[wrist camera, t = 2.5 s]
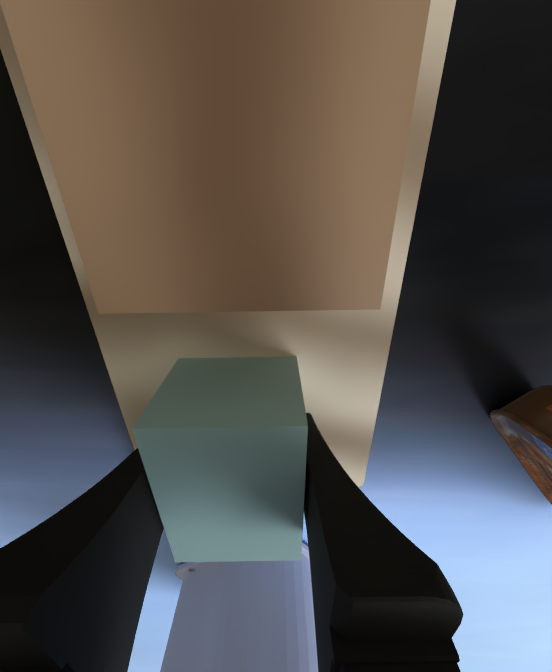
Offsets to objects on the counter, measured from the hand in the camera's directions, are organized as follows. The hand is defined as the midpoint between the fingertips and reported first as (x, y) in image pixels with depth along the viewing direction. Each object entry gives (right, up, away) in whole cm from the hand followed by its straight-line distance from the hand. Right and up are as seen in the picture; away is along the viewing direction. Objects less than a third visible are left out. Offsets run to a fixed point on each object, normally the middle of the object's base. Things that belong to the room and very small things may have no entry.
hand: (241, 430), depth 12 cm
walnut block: (+1, +10, -4) cm, 10 cm away
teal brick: (0, 0, +1) cm, 1 cm away
